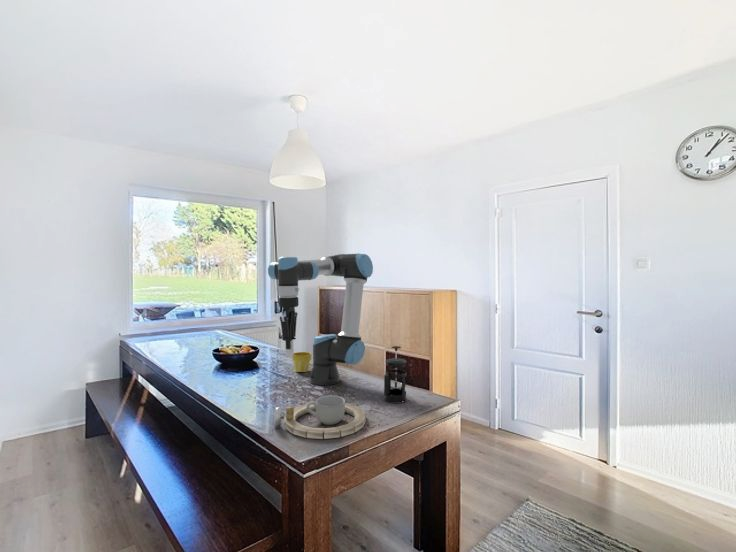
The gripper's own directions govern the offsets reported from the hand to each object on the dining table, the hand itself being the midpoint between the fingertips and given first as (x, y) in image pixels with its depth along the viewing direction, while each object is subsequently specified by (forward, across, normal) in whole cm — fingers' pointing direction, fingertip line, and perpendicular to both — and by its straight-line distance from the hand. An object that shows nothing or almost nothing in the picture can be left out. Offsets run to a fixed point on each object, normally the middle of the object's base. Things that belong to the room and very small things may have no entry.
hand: (289, 356), depth 147 cm
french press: (+23, +20, -39) cm, 50 cm away
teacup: (+22, -7, -16) cm, 28 cm away
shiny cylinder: (+21, -16, -1) cm, 26 cm away
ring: (+22, -8, -16) cm, 28 cm away
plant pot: (+23, +57, +16) cm, 64 cm away
